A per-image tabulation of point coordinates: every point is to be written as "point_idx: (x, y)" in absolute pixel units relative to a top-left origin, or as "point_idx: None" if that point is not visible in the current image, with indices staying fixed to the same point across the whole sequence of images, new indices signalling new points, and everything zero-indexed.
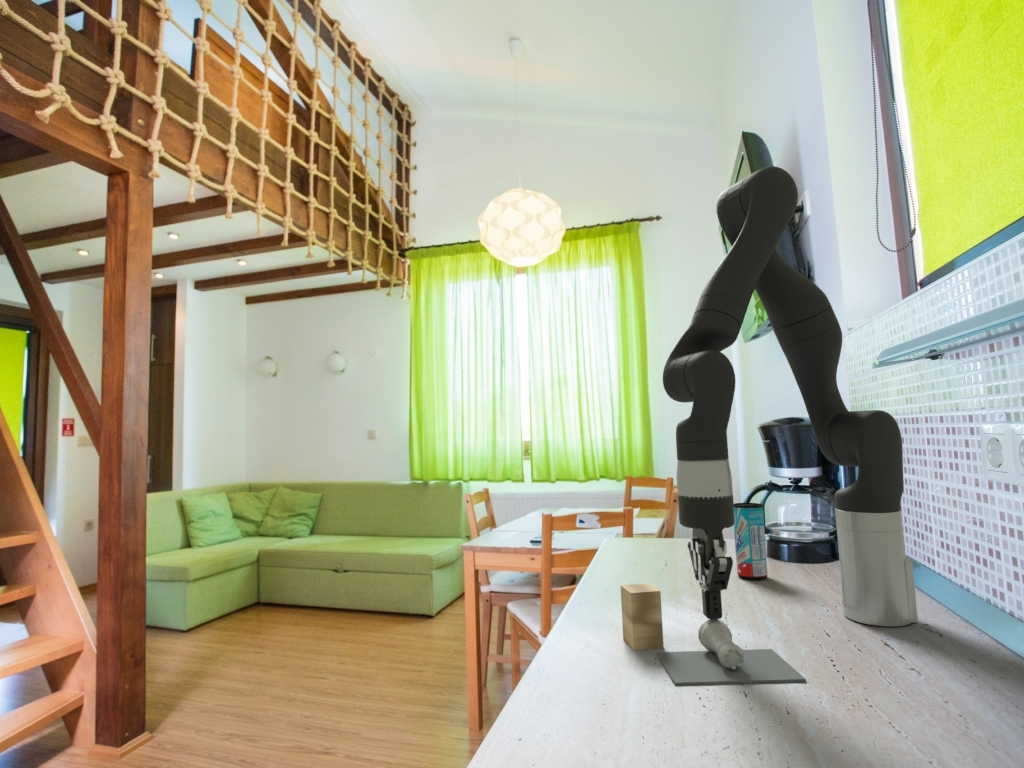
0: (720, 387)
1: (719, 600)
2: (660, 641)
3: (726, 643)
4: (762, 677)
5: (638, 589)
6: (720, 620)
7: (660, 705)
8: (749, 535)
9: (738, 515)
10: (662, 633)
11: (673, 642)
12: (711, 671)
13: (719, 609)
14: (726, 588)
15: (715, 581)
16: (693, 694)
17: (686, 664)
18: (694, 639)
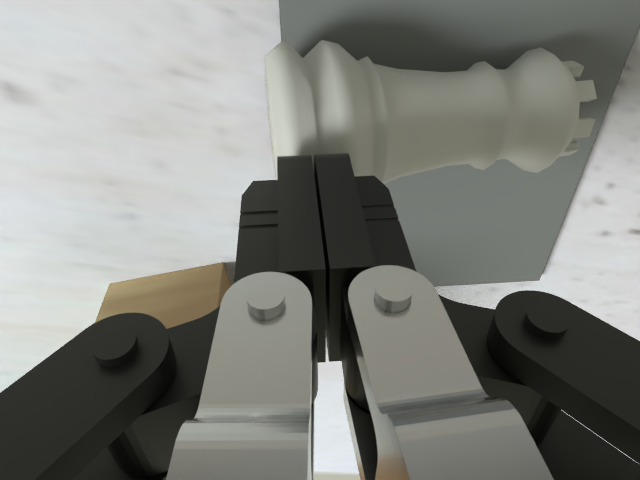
0: None
1: (405, 243)
2: (223, 286)
3: (512, 142)
4: None
5: None
6: (301, 135)
7: (625, 314)
8: None
9: None
10: (219, 301)
11: (161, 225)
12: (497, 167)
13: (391, 205)
14: (567, 304)
15: (545, 421)
16: (609, 242)
17: (416, 230)
18: (105, 139)
